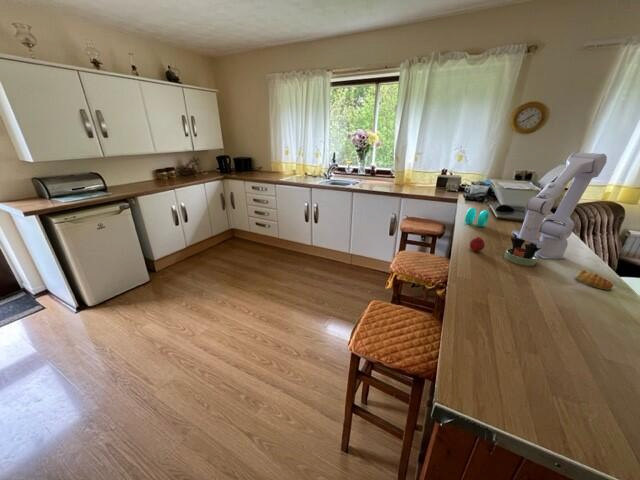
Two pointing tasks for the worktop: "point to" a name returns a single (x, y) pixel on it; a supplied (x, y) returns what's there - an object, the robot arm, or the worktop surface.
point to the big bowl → (519, 260)
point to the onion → (477, 244)
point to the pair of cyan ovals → (481, 218)
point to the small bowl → (519, 252)
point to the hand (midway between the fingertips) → (520, 256)
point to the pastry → (593, 280)
